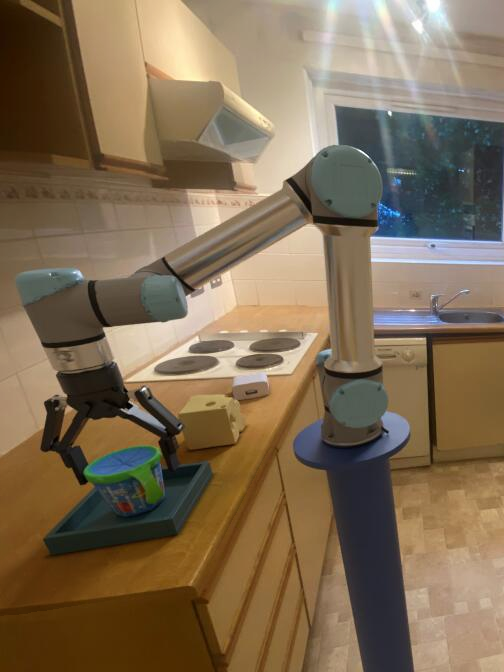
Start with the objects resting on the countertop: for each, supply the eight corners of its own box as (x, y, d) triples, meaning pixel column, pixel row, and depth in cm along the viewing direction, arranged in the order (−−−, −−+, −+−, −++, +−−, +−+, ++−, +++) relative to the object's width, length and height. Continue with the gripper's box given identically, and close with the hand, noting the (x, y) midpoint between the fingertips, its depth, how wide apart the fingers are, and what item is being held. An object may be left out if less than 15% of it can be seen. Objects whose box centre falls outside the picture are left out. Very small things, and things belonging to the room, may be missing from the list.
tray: (213, 474, 93) (209, 460, 92) (177, 534, 76) (171, 518, 75) (112, 488, 88) (106, 474, 87) (51, 555, 71) (42, 539, 70)
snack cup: (90, 506, 82) (69, 459, 78) (156, 478, 90) (140, 435, 86) (122, 538, 74) (100, 489, 70) (191, 505, 82) (175, 459, 78)
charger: (268, 378, 144) (270, 394, 132) (236, 383, 140) (234, 401, 128) (265, 365, 142) (266, 380, 130) (232, 370, 138) (231, 386, 126)
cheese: (246, 425, 114) (237, 390, 110) (236, 445, 104) (226, 408, 100) (201, 431, 111) (190, 395, 107) (186, 452, 101) (173, 414, 97)
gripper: (-30, 383, 65) (33, 499, 73) (164, 365, 71) (202, 473, 79) (7, 366, 71) (61, 474, 80) (182, 351, 78) (215, 452, 86)
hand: (132, 474), depth 79 cm, fingers open, 13 cm apart
